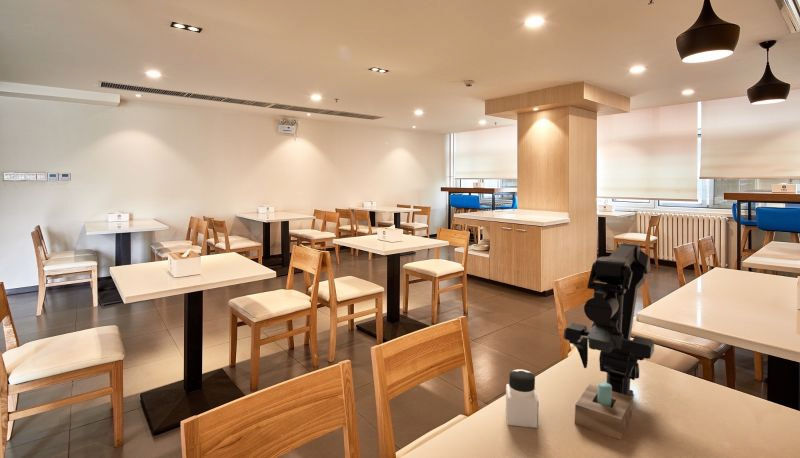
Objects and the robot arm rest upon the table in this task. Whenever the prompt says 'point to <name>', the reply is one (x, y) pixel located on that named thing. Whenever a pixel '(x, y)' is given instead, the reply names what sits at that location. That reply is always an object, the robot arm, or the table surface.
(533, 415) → the medicine bottle
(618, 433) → the socket block
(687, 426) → the table surface
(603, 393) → the peg
